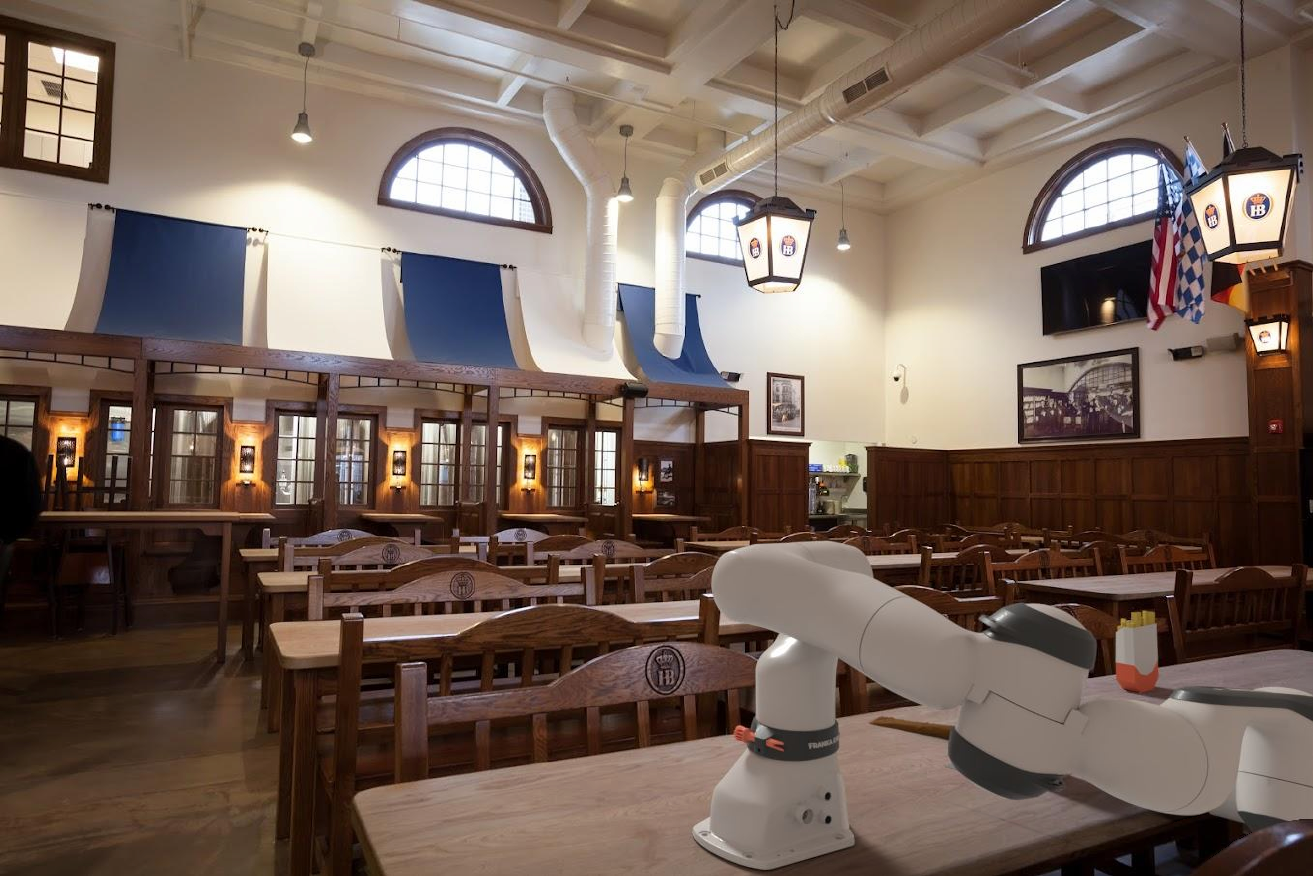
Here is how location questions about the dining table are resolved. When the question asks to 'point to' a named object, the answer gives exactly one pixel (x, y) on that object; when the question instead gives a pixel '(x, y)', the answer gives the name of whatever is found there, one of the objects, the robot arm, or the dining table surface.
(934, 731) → the primitive tool
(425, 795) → the dining table surface
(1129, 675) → the french fries container
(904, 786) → the dining table surface
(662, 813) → the dining table surface
